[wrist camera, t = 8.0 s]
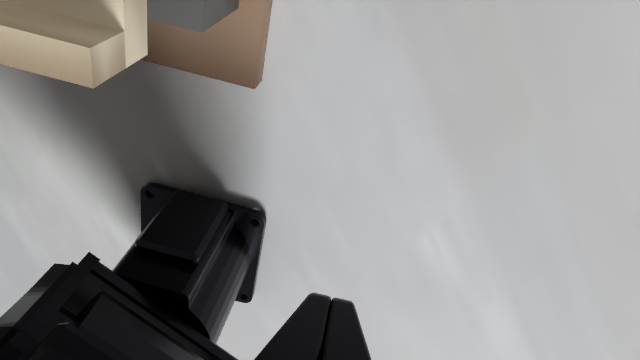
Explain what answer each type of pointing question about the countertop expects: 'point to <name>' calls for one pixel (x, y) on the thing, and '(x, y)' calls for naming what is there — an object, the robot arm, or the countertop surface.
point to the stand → (210, 37)
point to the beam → (73, 37)
